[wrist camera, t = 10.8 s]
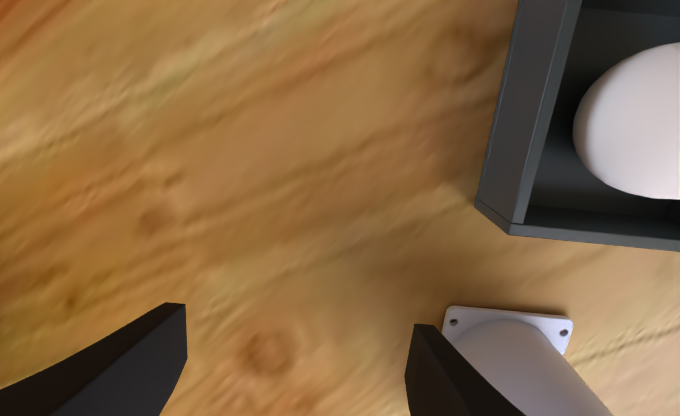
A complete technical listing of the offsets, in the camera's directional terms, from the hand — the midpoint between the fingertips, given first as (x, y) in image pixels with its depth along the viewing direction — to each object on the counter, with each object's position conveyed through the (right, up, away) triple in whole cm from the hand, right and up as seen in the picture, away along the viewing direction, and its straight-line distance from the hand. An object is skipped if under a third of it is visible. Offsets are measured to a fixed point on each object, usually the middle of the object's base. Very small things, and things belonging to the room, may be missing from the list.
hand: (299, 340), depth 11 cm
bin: (+15, +9, +8) cm, 19 cm away
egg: (+15, +9, +8) cm, 19 cm away
